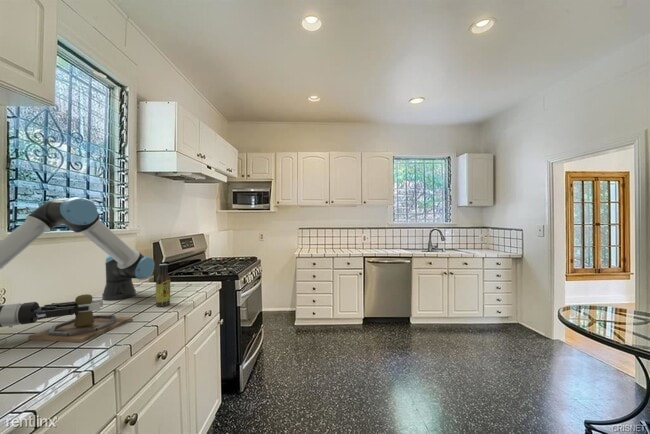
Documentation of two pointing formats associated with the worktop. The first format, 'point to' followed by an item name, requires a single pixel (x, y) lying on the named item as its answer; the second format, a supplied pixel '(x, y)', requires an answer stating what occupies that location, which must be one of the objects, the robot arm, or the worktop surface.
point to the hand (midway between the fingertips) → (101, 304)
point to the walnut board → (80, 337)
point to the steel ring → (55, 333)
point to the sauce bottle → (163, 286)
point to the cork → (84, 317)
